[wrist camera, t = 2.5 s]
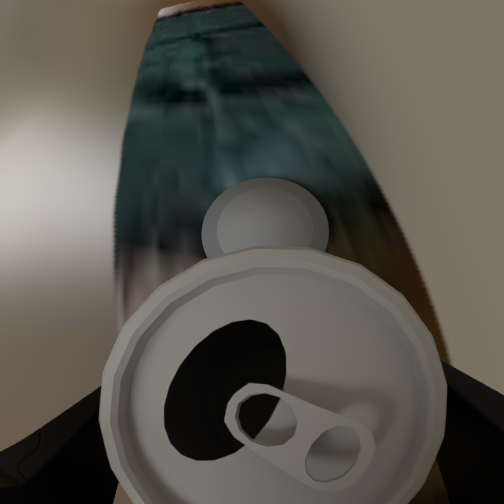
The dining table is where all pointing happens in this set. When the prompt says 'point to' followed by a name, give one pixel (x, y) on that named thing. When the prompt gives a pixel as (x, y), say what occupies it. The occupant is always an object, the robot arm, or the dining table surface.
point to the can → (273, 386)
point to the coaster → (264, 218)
